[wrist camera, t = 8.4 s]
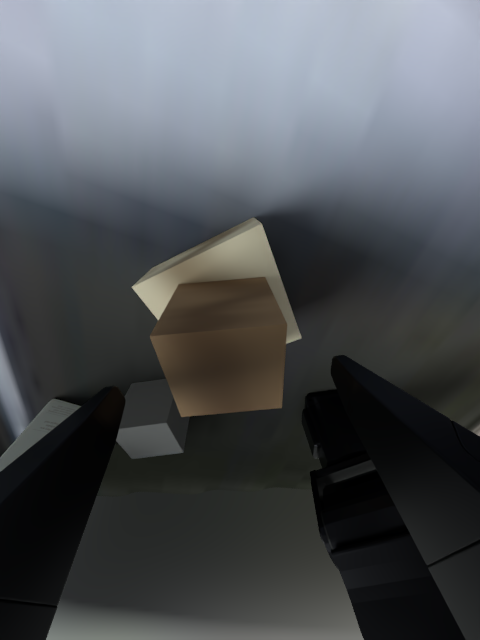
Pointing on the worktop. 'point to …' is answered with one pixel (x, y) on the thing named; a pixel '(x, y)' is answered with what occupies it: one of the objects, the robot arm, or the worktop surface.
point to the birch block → (219, 269)
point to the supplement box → (38, 429)
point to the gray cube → (151, 421)
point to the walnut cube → (222, 347)
